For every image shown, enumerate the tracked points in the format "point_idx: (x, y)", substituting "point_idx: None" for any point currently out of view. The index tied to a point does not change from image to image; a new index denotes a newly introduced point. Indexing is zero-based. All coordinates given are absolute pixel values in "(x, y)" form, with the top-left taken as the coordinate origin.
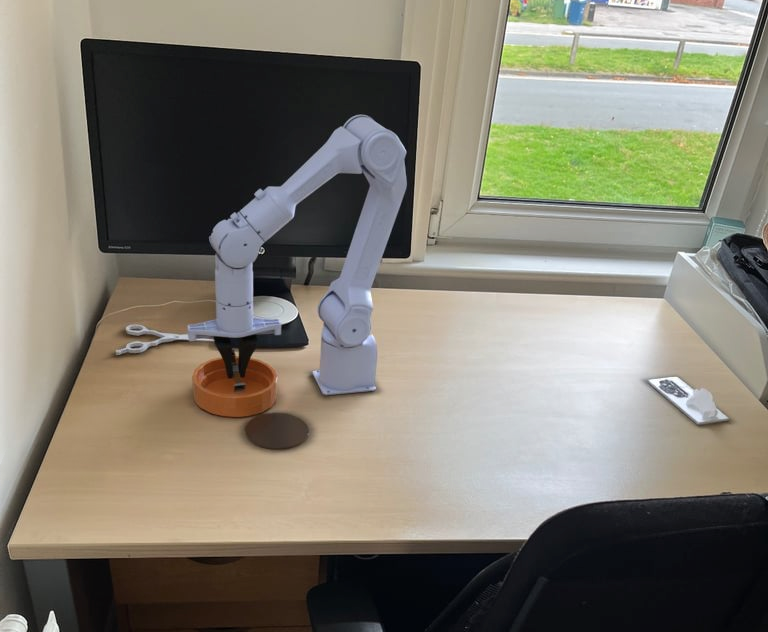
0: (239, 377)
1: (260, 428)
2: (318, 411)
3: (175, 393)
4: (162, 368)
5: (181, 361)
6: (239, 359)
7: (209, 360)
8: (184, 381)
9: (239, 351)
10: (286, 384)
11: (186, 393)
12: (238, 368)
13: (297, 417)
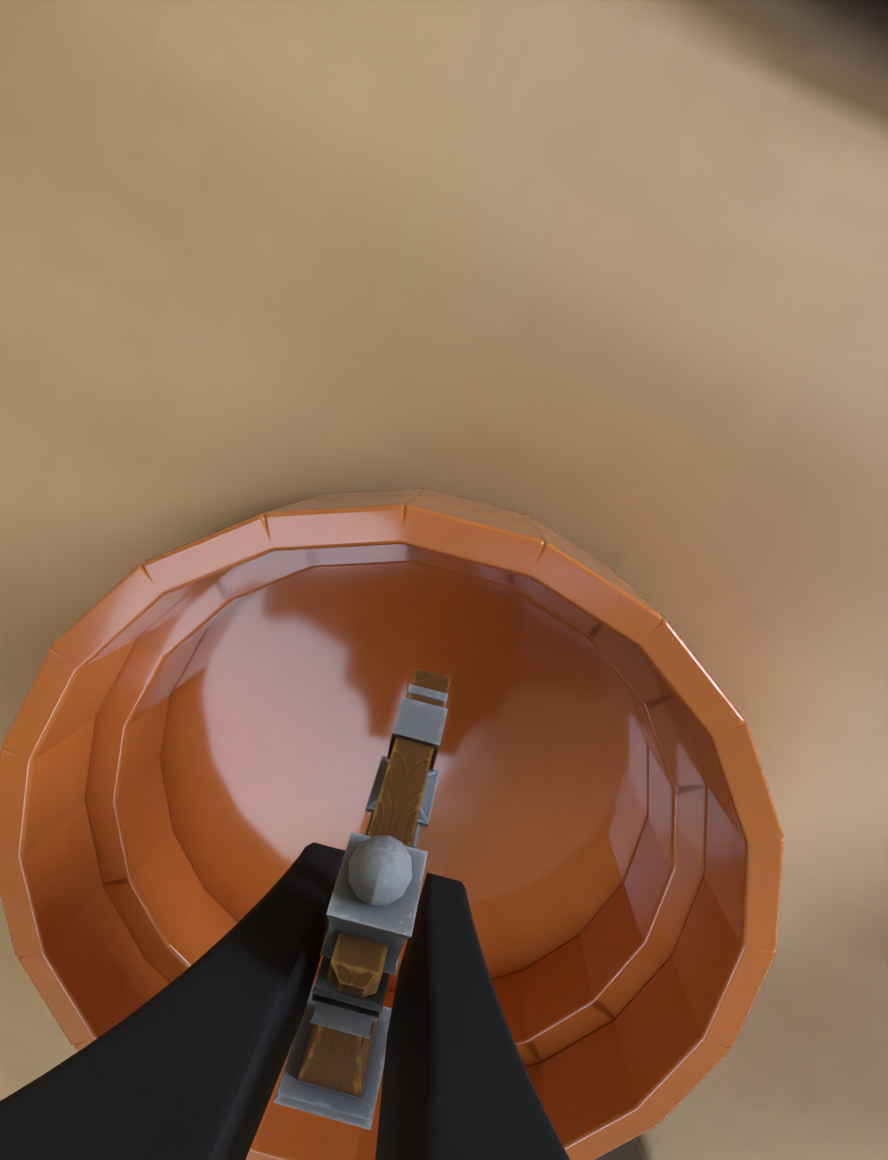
0: (352, 1058)
1: None
2: (803, 1124)
3: (30, 562)
4: (14, 122)
5: (202, 52)
6: (411, 1033)
7: (247, 529)
8: (134, 422)
9: (413, 1123)
10: (823, 780)
11: (103, 594)
12: (421, 904)
13: (637, 1157)
